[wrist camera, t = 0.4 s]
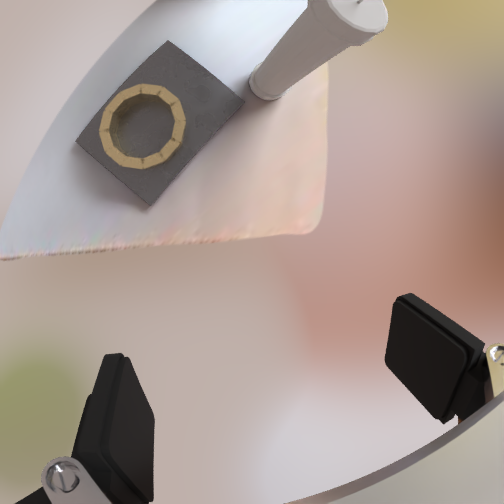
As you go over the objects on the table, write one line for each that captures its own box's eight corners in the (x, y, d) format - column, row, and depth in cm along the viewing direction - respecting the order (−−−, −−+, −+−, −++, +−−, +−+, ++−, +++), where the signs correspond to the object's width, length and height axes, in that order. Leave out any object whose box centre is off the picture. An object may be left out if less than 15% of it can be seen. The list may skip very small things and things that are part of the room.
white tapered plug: (249, 102, 36) (380, -13, 8) (245, 62, 34) (349, -85, 6) (288, 101, 37) (456, 19, 9) (283, 62, 35) (424, -54, 7)
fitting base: (168, 44, 31) (166, 27, 26) (242, 104, 36) (251, 94, 31) (79, 142, 33) (63, 139, 28) (152, 204, 37) (146, 210, 32)
